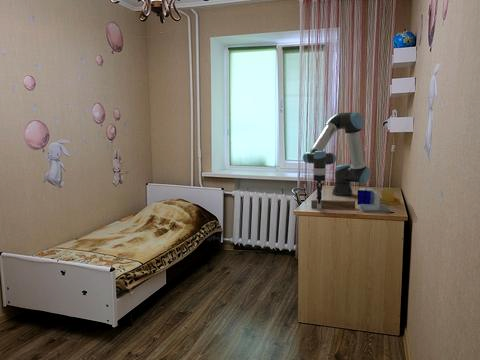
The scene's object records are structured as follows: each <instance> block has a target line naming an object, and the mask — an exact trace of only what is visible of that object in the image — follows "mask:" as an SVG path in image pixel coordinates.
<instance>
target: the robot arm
mask: <svg viewBox="0 0 480 360" xmlns="http://www.w3.org/2000/svg"><path fill="white" fill-rule="evenodd" d="M364 123H365V120H364V116H363V115H362V114H361V112H355V111H353V112H339V113H336V114H334V115H333V116H331V117H330V118H329V119H328V120H327V121H326V123H325V125H324V129H322V132H321V133H320V135H319V137H318V138H317V139H316V141H315V142H314V144H313V146H312V147H311V149H310V150H309V151H307V152H304V153H303V156H302V160H303V162H304V163H306V164H313V169H312V172H313V181H316V185H315V186H316V198H315V200H317V208H316V209H317V210H321V209H322V208H321V200H322V195H323V194H322V190H323V182H325V181H326V169H327V168H326V166H328V165H332V164H333V165H334V164H335V163H336V162H337V156H336V154H335V153H333V152H326V151H325V148H326V147H327V145H328V143H329V142H330V140H331V139H332V137H333V135H334V134H336V133H337V132H338V130H344V133H345V134H346V135H347V140H348V147H349V153H350V155H349V156H350V161H351V164H339V165H336V166H335V170H334V174H335V175H334V187H333V189H332V195H333V196H340V197H341V196H342V197H348V196H349V197H350V196H353V195H354V194H353V193H354V192H353V187H352V185H351V183H358V184H365V183H367V182H368V181H369V179H370V177H371V168H369V167H367V164H366V163H365V162H364V161H365V160H364V154H363V153H364V152H363V148H362V147H363V146H362V140H361V131H362V129H363V128H364V125H365V124H364Z"/></svg>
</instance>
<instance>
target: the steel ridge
mask: <svg viewBox="0 0 480 360" xmlns="http://www.w3.org/2000/svg"><path fill="white" fill-rule="evenodd" d="M370 189H371V196H370V205H371V206H372V207H373V209H374V210H380V204H381V193H380V192H379V191H378V190H377V189H375V188H370Z"/></svg>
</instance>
